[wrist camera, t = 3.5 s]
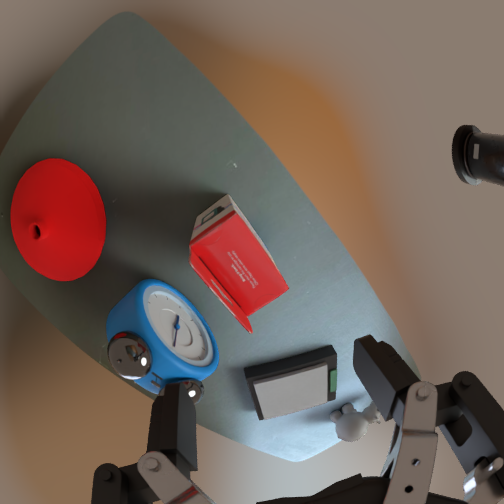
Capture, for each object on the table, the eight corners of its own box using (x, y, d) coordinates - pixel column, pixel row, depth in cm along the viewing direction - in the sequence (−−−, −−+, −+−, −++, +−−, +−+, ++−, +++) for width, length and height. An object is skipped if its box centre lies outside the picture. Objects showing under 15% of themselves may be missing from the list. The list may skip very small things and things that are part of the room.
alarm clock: (218, 324, 38) (225, 407, 24) (188, 346, 38) (184, 428, 24) (150, 260, 33) (116, 330, 19) (121, 288, 34) (82, 361, 20)
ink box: (267, 246, 35) (302, 307, 21) (235, 268, 35) (251, 340, 21) (227, 191, 32) (240, 220, 18) (194, 216, 32) (182, 262, 18)
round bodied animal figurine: (378, 397, 52) (394, 422, 44) (334, 423, 52) (346, 450, 45) (373, 384, 49) (390, 411, 41) (324, 413, 50) (337, 442, 42)
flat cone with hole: (57, 288, 32) (36, 313, 26) (8, 199, 26) (-21, 210, 20) (136, 239, 32) (119, 260, 25) (80, 132, 26) (52, 130, 20)
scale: (331, 344, 42) (338, 356, 39) (331, 390, 47) (337, 402, 44) (243, 368, 41) (246, 382, 38) (257, 411, 46) (260, 423, 43)
